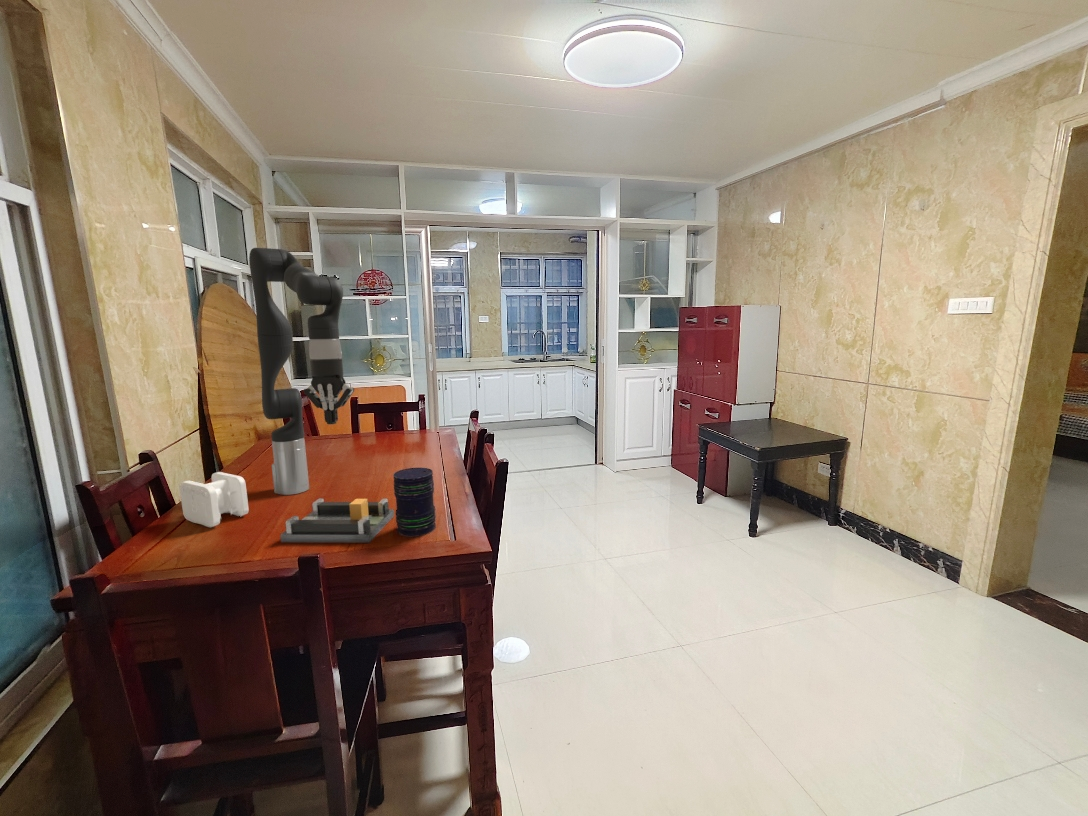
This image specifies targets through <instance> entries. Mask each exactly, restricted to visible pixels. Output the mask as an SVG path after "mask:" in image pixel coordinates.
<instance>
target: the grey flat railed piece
mask: <svg viewBox="0 0 1088 816" xmlns="http://www.w3.org/2000/svg"><path fill="white" fill-rule="evenodd" d="M351 502H352V501H325V500H324V498H318V499H316V500H315V501H313V502H312V505H311V507H312V511H311V512H310V513H308V514H307V515H306V516H304V517H303V518H300V519H299V515H293V516H292V517H290V518H288V519H287V520H286V521H285V531H283V532H282V533H281V534H280V543H324V544H325V543H329V544H330V543H335V544H336V543H341V544H342V543H345V544H346V543H349V544H352V543H357V544H359V543H360V544H363V543H365V544H367V543H371V542H372V540H373V539H374V538H375V537H376V536H378V534H379V533H380V532H381V531H382V530H383V529H384V527H385V526H387V524H388V523H390V521H391V520H392V519H393V518H394V517H395V511H394V508H389V507H390V505H389V500H388V498H382V499H381V500H380V501H368V513H369V515H372V517H371V518H370V519H369V516H363V517H362V518H361V519H360V520H350V519H351V518H350V506H349V504H350V503H351Z"/></svg>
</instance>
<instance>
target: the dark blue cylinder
mask: <svg viewBox="0 0 1088 816" xmlns="http://www.w3.org/2000/svg"><path fill="white" fill-rule="evenodd" d="M433 475H434V473H433V470H432V469H431V468H428V467H410V468H409V467H408V468H403V469H400V470H397V471H395V472H394V473H393V490H394V491H393V495H394V497H395V501H396V503H395V504H396V509H395V521H396V526H397V528H396V529H397V530H396V531H397V534H399V535H400V536H404V537H420V536H419V535H421V536H424V534H425V535H428V534H430V533H433V532H434V531H435V529H436V528H437V525H436V518H437V517H436V515H437V514H436V506H435V505H434V504H435V502H434V493H435V487H434V486H435V482H434V476H433ZM427 533H428V534H427Z"/></svg>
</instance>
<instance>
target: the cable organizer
mask: <svg viewBox="0 0 1088 816" xmlns="http://www.w3.org/2000/svg"><path fill="white" fill-rule="evenodd" d="M210 479H211V482H209V483H202V482H201V483H200V482H197V481H192V480H184V481H182V482H180V483H179V486H178V487H179V494H180V501H181V507H182V508H181V509H182V513H183V516H184V518H185V519H186V521H190V522H191V523H195V524H199V525H201V526H204V527H207V528H214V527H215V526H218V525H220V523H221V519H222V516H221V515H222V514H230V516H232V515H234V516H237V517H239V516H240V518H241V517H243V516H244V515H247V514H248V513H249V501H248V493H247V492H248V491H247V485H246V480H245V479H244V477H242V476H240V475H238V474H237V475H236V474H230V473H226V472H222V471H217V472H214V473H212V474H211V478H210Z"/></svg>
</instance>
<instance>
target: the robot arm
mask: <svg viewBox="0 0 1088 816" xmlns="http://www.w3.org/2000/svg"><path fill="white" fill-rule="evenodd" d="M248 258H249V260H248V261H249V271H250V278H251V283H252V291H253V297H254V303H255V315H256V316H255V317H256V334H257V335H256V336H257V345H258V346H257V347H258V352H259V353H258V354H259V361H260V369H261V371H260V373H261V404H262V405H261V406H262V413H263V416H264V417H265V419H267V420H281V419H289V421H288V422H286V423H285V424H284V425H282V426H281V427H278V428H276V429H274V430H272V431H271V433H270V437H271V445H272V454H273V463H272V464H271V472H272V474H271V475H272V482H273V489H274V494H277V495H282V496H283V495H284V496H290V495H297V494H300V493H301V494H302V493H304V492H306V491H308V490H310V482H309V473H308V470H309V469H308V461H307V460H308V459H307V454H306V452H307V451H306V441H305V433H304V421H303V418H304V417H303V400H302V399H303V398H302V394H301V392H300V390H299V389H298V388H290V387H289V388H279V389H275V385H276V381H277V378H278V376H279V374H280V371H281V370H282V368H283V366H284V365H285V364H286V362H287V361H288V359H289V358H290V356H291V354H292V352H293V350H294V338H293V328H292V325H291V323H290V321H289V320H288V318H287V317H286V315H284V313H283V312H282V311H281V310H280V308H279V307H278V306H277V304H276V302H275V301H274V300H273V297H272V296H271V293H270V291H269V285H268V283H269V282H271V283H275V282H277V283H278V282H279V283H284V284H285V285H286V286H287V287H288V288H289V289H290V290H291V291H293V292H294V293H296V295H297V299H298V301H299V302H301V303H302V304H305V305H309V306H325V308H324V311H323V312H322V313H320V314H313V315H310V316H309V317H308V318H307V332H308V340H309V341H308V354H309V355H308V356H309V363H310V373H311V381H310V386H308V387H307V388H304V389H303V391H302V392H303V394H304V395H305V396H306V398H308V399H309V400H310V402H311V403H312V404H313V405H314V406H315V407H316V408H317V409H322V410H323V412H324V413H323V415H324V422H325V423H326V424H327V425H336V424H337V422H338V421H339V416H338V415H339V413H338V409H340V408H342V407H344V406H345V405H346V403H347V402H348V401H349V399H350V397H351V396H352V395H353V394H354V392H355V388H354V387H350V386H349V385H348V384H347V383H346V380H345V378H344V366H343V365H344V364H343V352H342V346H341V341H340V330H339V318H340V313H341V308H342V304H343V303H342V302H343V298H344V289H343V285H342V283H341V282H340V280H338V279H337V278H336V277H332V276H319V275H318V274H317V272H315V271H313V270H311V269H309V268H307V267H305V266H303V265H302V264H301V262H300V261H299V260H298V259H297V258H296V257H295V256H294V255H293V254H292V253H291V252H290V251H288V250H287V249H286V250H285V249H281V248H272V247H271V248H269V247H253V248H251V250H250V252H249V257H248ZM341 393H342V395H341V397H340V394H341Z"/></svg>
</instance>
